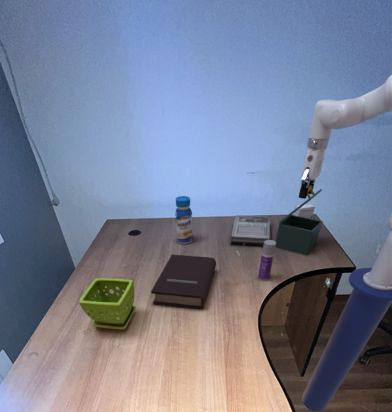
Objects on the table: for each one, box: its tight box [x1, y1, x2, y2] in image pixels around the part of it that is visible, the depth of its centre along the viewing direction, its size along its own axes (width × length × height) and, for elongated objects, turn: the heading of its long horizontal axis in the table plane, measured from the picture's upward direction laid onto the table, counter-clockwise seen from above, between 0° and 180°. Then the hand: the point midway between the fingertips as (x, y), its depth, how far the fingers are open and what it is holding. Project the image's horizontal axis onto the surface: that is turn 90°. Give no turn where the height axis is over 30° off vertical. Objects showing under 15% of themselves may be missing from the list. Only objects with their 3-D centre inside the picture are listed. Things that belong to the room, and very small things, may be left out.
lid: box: [278, 185, 323, 224], centre depth 118 cm, size 16×14×5 cm
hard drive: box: [230, 214, 271, 248], centre depth 138 cm, size 18×27×4 cm
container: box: [257, 239, 277, 281], centre depth 105 cm, size 5×5×15 cm
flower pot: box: [78, 277, 137, 331], centre depth 89 cm, size 14×14×13 cm
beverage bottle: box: [174, 195, 194, 245], centre depth 129 cm, size 8×8×20 cm
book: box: [150, 254, 217, 310], centre depth 105 cm, size 28×20×6 cm
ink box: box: [293, 203, 316, 219], centre depth 138 cm, size 8×5×12 cm, turn 105°
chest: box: [275, 214, 323, 256], centre depth 126 cm, size 16×14×11 cm
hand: (305, 195), depth 114 cm, fingers closed on lid, 6 cm apart
